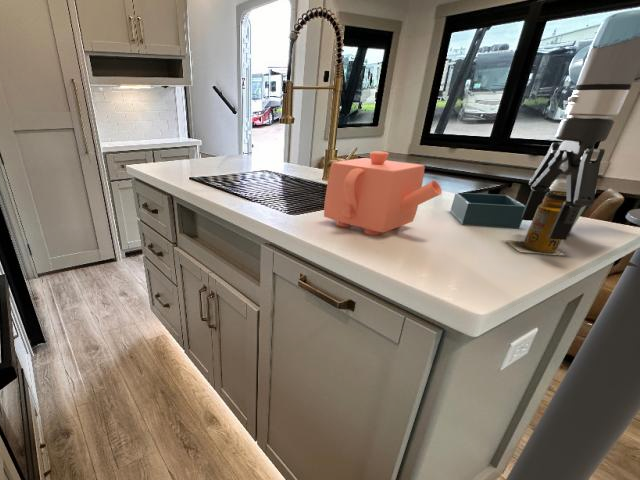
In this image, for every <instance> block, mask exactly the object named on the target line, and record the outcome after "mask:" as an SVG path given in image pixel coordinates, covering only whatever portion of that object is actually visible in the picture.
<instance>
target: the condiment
mask: <svg viewBox="0 0 640 480" xmlns="http://www.w3.org/2000/svg"><path fill="white" fill-rule="evenodd" d="M546 192H547V193H546V194H545V197H544V199H543V202H542V203H541V204H540V205H539V206H538V208H537V210H536V213H535V215H534V218H533V220H532V221H531V222H530V225H529V228H528V230H527V233H526V235H525V238H524V241H522V240H520V241H519V240H510V239H509V240H508V239H506V240H505V241H506V242H507V243H508V244H509V245H510V246H511V247H512V248H513V249H516V250H517V251H518V252H520V253H527V254H531V253H532V254H541V255H552V256H566V254H565V253H563V252H561V251H559V250H558V249H559V247H560V245H561V242H562V240H560V239H549V238H548V236H549V234H550V232H551V230H552V227H553V225H554V223H555V221H556V218H557V216H558V214H559V212H560V209H561V207H562V204H563V203H564V202H566V197H567V192H562V191H550V190H548V191H546Z"/></svg>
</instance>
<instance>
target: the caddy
mask: <svg viewBox="0 0 640 480" xmlns="http://www.w3.org/2000/svg"><path fill="white" fill-rule="evenodd" d="M525 206H526V204H524V203H522V202H520V201H518V200H517V199H516V198H513V197H512V196H510V195H508V194H491V193H472V192H455V193H454V197H453V200H452V204H451V207H450V211H449V212H450V214H452V216H454V218H455V219H456V220H457V221H458V222H459V223H460V224H461V225H462V226H476V227H490V228H504V229H519V230H520V228H521V225H522V223H523V220H521V216H522V214H523V211H524V209H525Z"/></svg>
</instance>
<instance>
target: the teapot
mask: <svg viewBox="0 0 640 480" xmlns="http://www.w3.org/2000/svg"><path fill="white" fill-rule="evenodd" d="M389 154H390V153H389V152H387V151H379V150H377V151H370V152H369V157H361V158H360V157H359V158H353V159H346V160H345V159H344V160H340V161H333V162H332V163H331V164H330V168H329V174H328V179H327V184H326V185H327V186H326V190H325V198H324V206H323V217H324V218H327V219H329V220H334V221H337V223H336V224H335V225H336V226H338V227H343V228H348V227H350V226H354V227H359V228H363V229H364V234H367V235H368V236H369V235H370V236H377V235H380V233H385V232H389V231H391V230H395V229H397V228H399V227H403V226H405V225H408V224H410V223H413V222H414V220H415V217H416V214H417V211H418V208H419V207H418V206H420V205H421V204H423V203H426V202H427V201H429V200H432V199H434V198H436V197H438V196H440V195H441V194H442V187H441V185H440V184H439V183H438V182H437V181H436V180H432V181H430V182H428V183H427V184H425V185H423V181H424V176H425V169H426V166H425V164H420V163H419V164H418V163H414V162H413V163H411V162H404V161H395V160H388V159H387V158H388V157H389Z"/></svg>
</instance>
